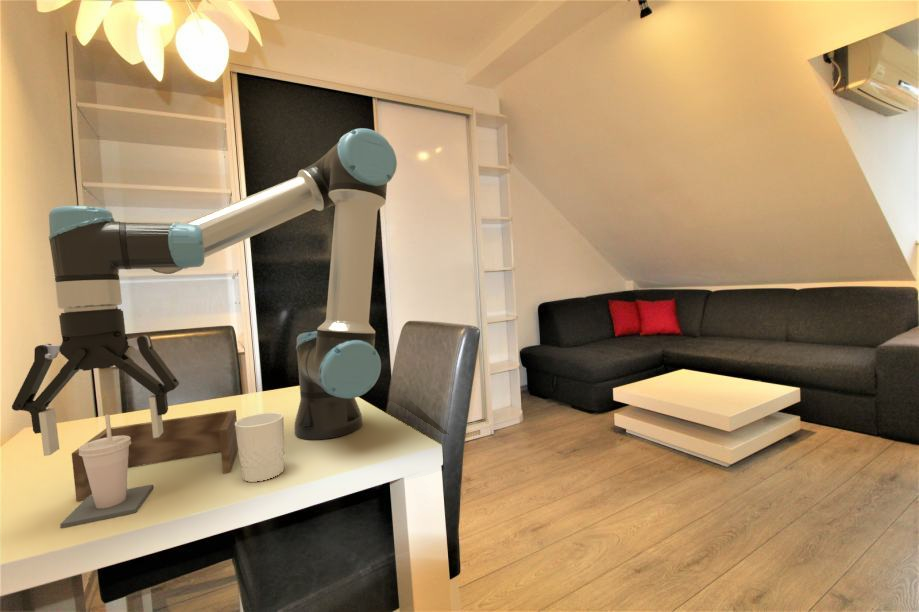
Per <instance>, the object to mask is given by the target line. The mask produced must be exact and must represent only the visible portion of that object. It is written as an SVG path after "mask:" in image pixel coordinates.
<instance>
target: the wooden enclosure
mask: <svg viewBox="0 0 919 612" xmlns="http://www.w3.org/2000/svg"><path fill="white" fill-rule="evenodd" d="M236 421H238V419H237V410H236V409H232V410H225V411H219V412H213V413H211V412H210V413H206V414H205V413H204V414H196V415H190V416H185V417H184V416H183V417H176V418H169V419H162V423H163V433H162V434H161V435H160V436H159V437H157V438H153V431H152V422H151V421H149V422H143V423H142V422H141V423H134V424H125V425H119V426H113V427H112V426H111V435H112V436H129V437H130V438H131V444H130V445H129V455H128V467H129V468H133V467H132V466H135V467H139V466H138V465H140V466H144V465H143V464H146V465H151V464H150V463H152V464H157V463H162V462H168V461H174V460H180V459H181V460H182V459H186V458H191V457H192V456H193V457H198V456H204V455H210V454H215V453H214V452H216V453H221V466H222V474H227V473H231V472H232V471H231V470H232V468H233V465H234V462H235V460H236V456H237V453H238V446H237V438H236V431H235V422H236ZM102 438H107V431H106V428H105V429H103V430H102V431H100V432H99V433H98V434H96V435H95V436H94V437H92V438H91V439H89V440H88V441H87V442H85V443H84V444H86V443H89V442H91V441H95V440H98V439H102ZM209 453H210V454H209ZM203 454H204V455H203ZM197 455H198V456H197ZM193 457H192V458H193ZM71 462H72V470H73V471H72V472H73V480H74V481H73V483H74V490H75V501H76V502H81V501H84V500H85V499H86V498H87V497H89V496H92V495H93V494H92V491H91V487H90V484H89V480H88V476H87V473H86V469H85V466H84V462H83V458H82V456H80V455H79V447H78V448H77V449H76V450H74V451H73V452H72V453H71Z"/></svg>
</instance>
